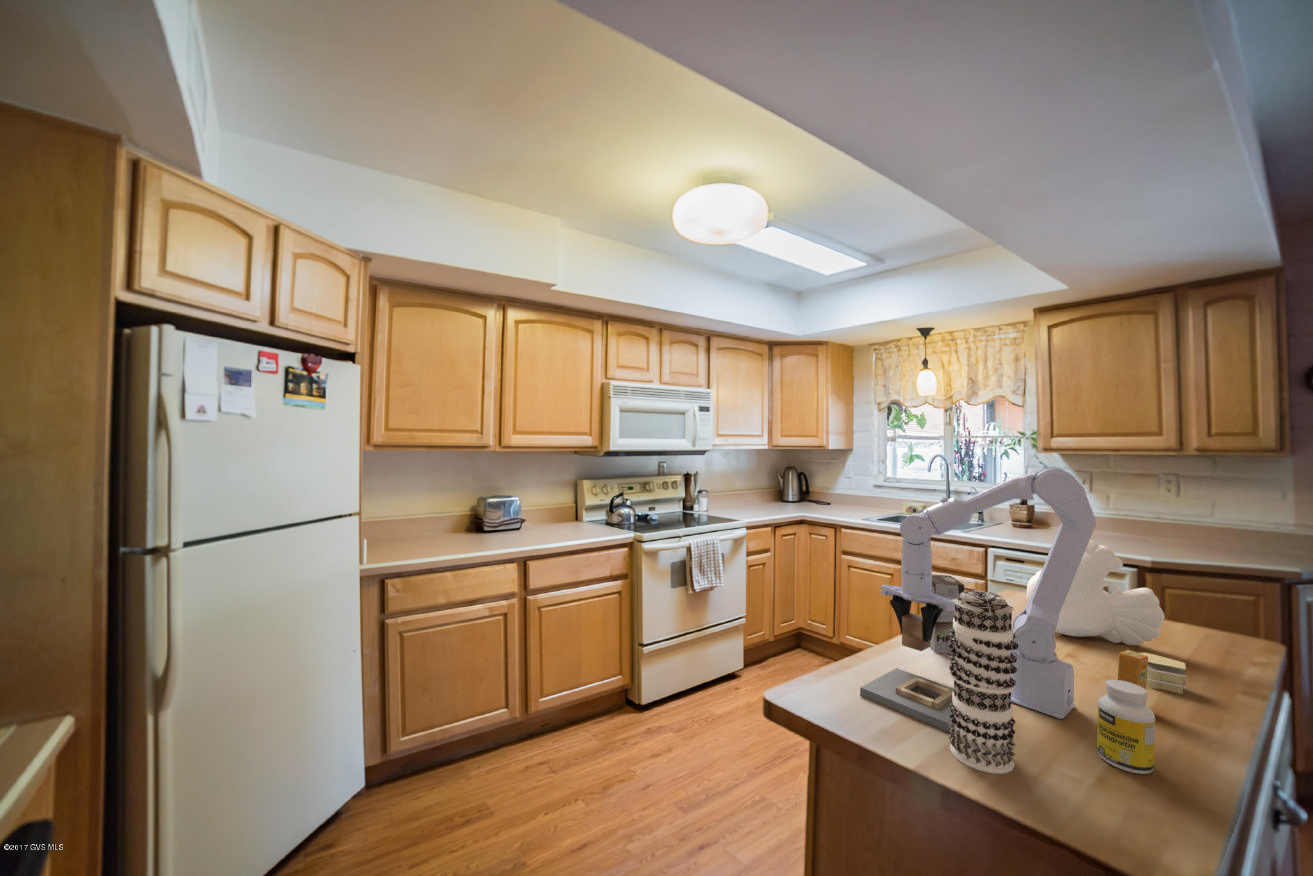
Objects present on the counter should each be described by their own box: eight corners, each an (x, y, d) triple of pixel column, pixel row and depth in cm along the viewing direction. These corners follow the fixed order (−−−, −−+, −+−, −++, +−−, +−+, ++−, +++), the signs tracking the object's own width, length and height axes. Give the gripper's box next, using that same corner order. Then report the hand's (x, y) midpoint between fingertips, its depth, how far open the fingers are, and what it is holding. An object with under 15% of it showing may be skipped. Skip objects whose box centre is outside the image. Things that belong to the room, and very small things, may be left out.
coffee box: (965, 655, 119) (965, 584, 119) (934, 653, 120) (934, 583, 120) (950, 640, 128) (951, 574, 128) (922, 638, 129) (923, 573, 129)
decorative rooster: (1004, 599, 139) (1065, 538, 125) (1032, 581, 147) (1093, 521, 132) (1100, 683, 124) (1183, 624, 109) (1126, 657, 132) (1207, 599, 117)
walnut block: (930, 646, 109) (930, 617, 109) (921, 651, 106) (921, 621, 106) (911, 640, 112) (911, 612, 112) (901, 645, 109) (902, 616, 109)
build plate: (994, 711, 94) (994, 697, 94) (961, 738, 85) (961, 722, 85) (896, 675, 108) (896, 663, 108) (860, 695, 100) (860, 682, 100)
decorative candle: (1028, 762, 79) (1030, 597, 79) (999, 783, 74) (1000, 607, 74) (966, 733, 87) (967, 583, 87) (935, 751, 82) (937, 591, 82)
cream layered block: (1195, 688, 105) (1195, 661, 105) (1197, 704, 98) (1197, 675, 98) (1128, 672, 112) (1128, 647, 112) (1126, 686, 105) (1126, 659, 105)
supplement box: (1139, 714, 94) (1140, 658, 94) (1116, 705, 97) (1116, 651, 97) (1148, 710, 95) (1148, 655, 95) (1124, 701, 98) (1124, 648, 98)
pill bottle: (1086, 750, 82) (1086, 677, 82) (1123, 749, 83) (1124, 676, 83) (1126, 777, 76) (1127, 697, 76) (1167, 775, 76) (1167, 696, 76)
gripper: (873, 567, 112) (873, 630, 112) (944, 582, 101) (944, 652, 101) (890, 563, 117) (889, 623, 117) (959, 576, 105) (959, 643, 105)
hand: (916, 636), depth 109 cm, fingers closed on walnut block, 4 cm apart
